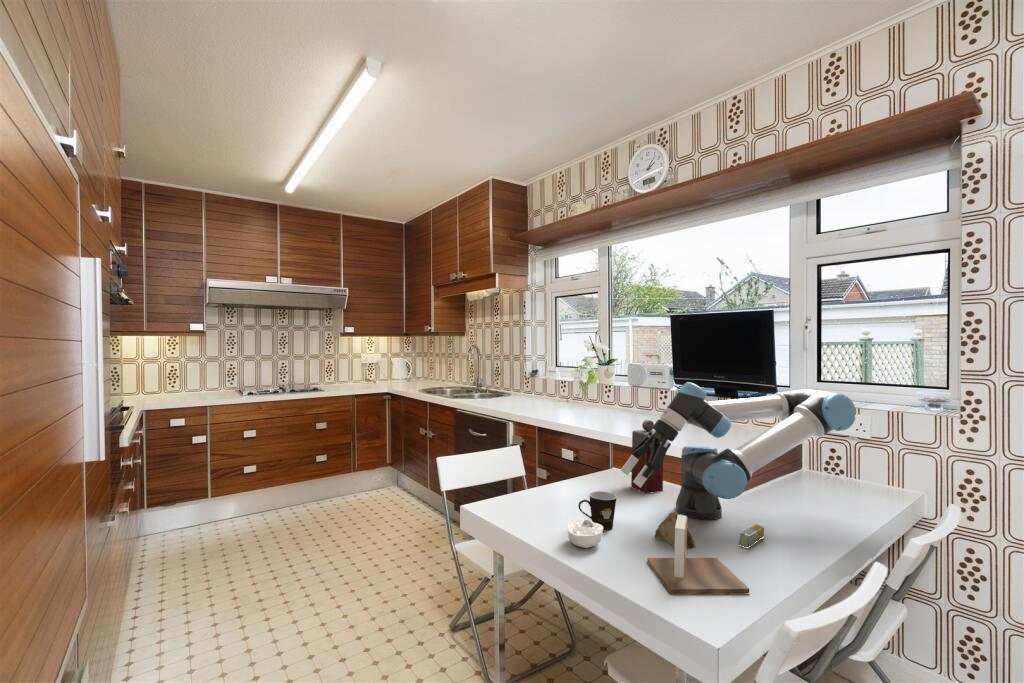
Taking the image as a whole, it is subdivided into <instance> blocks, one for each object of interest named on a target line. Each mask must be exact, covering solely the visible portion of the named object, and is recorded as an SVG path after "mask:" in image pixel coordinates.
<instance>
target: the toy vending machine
mask: <svg viewBox="0 0 1024 683" xmlns="http://www.w3.org/2000/svg"><path fill="white" fill-rule="evenodd" d="M654 424H655V423H654V421H652V420H649V419H645V420H643V422H642V426H641V427H642V429H637V430H633V431H632V435H631V436H632V437H631V442H632V443H631V450H632V449H633V448H634V447H635V446H636V445H637V444H638V443H639V442H641V441H642V440H643V439H644V438H645V437H646V436H647V435H648V433H649V432H652V433H653V434H654V433H655V430H654V429H653V426H654ZM651 451H652V450H649V451H648V452H647V453H645V454H644V455H642V456H641V457H640V460H639V461H638V462H637V463H636V465H635V466H634V467H633V469H632V470H631V482H630V483H631V484H630V487H631V488H632V487H633V488H632V489H634V488H635V490H636V489H637V491H639V490H640V491H639V492H641V491H642V492H641V493H643V492H644V494H646V493H647V494H652V493H651V492H653V493H658V492H657V491H660V492H663V491H664V460H663V461H662V464H661V466H660V468H659V470H653V472H652V473H651V474H650V476H649V477H648V478H647V480H646V481H645V482H644V484H643V485H642V487H641V488H640V487H639V486H638V485H636V484H635V483H634V482H633V481H634V480H635V478H636V477H637V476H638V474H639V473H640V471H641V470H642V469H643V467H644V466H645V465H646V464H645V463H648V461H649V458H650V454H651ZM637 459H638V458H637ZM646 466H647V465H646Z"/></svg>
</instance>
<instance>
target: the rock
mask: <svg viewBox="0 0 1024 683" xmlns="http://www.w3.org/2000/svg"><path fill="white" fill-rule="evenodd" d="M678 515H681V514H680V513H679V512H677V511H673V512H670V513H669V514H668V516H666V517H665V519H664V520H663V521H662V522H660V524H659V525H658V526H657V529H656V530H655V532H654V538H656V539H658V540H662V541H663V542H665V543H668V544H670V545H672V546H675V526H676V521H677V516H678ZM693 548H696V545H695V541H694V538H693V535H692V533H691V531H689V528H688V527H687V549H693Z"/></svg>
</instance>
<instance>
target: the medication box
mask: <svg viewBox="0 0 1024 683" xmlns="http://www.w3.org/2000/svg"><path fill="white" fill-rule="evenodd" d="M763 536H765V526H763V525H759V524H757V523H756V524H754V525H753V526H751V527H749V528H747V529H746V530H744V531H742V532H740V533H739V539H738V540H739V542H738V544H739V545H741V546H744V547H749V546H751V545H752V544H754V543H755V542H756V541H758V540H759V539H760V538H762V537H763ZM739 545H738V546H739ZM754 545H755V544H754ZM751 547H752V546H751Z"/></svg>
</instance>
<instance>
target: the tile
mask: <svg viewBox="0 0 1024 683" xmlns="http://www.w3.org/2000/svg"><path fill="white" fill-rule="evenodd" d="M687 528H688V516H685V515H683V514H680V515H678V516H677V521H676V526H675V545H674V556H673V558H674V577H679V578H684V577H685V569H686V558H688V557H687V549H688V548H687Z"/></svg>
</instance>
